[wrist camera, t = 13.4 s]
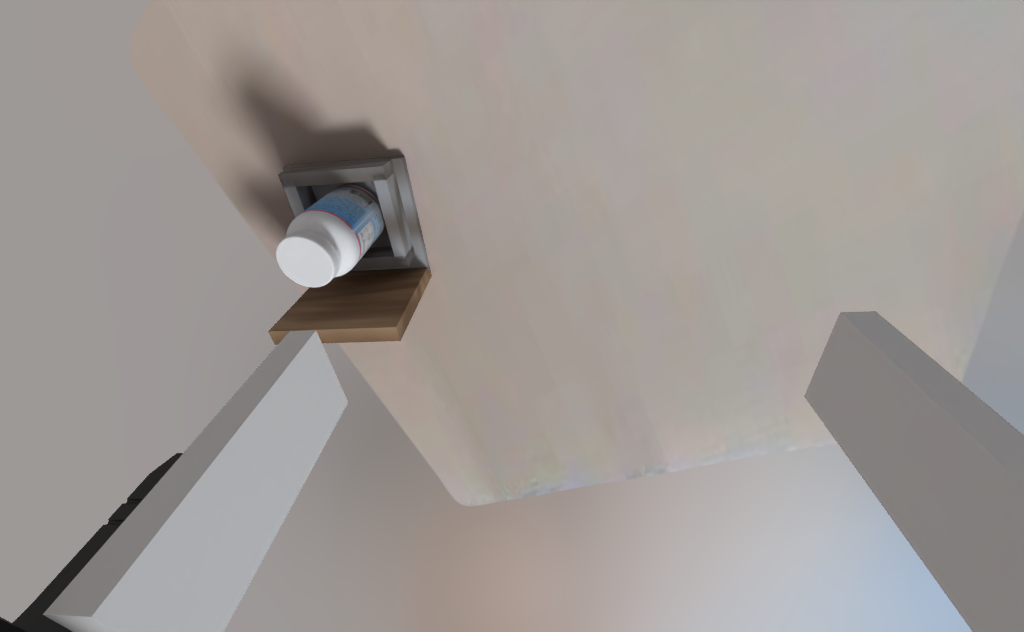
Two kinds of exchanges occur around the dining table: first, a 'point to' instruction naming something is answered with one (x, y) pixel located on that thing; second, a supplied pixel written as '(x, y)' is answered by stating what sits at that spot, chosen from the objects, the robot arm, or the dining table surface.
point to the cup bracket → (382, 269)
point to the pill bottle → (330, 236)
